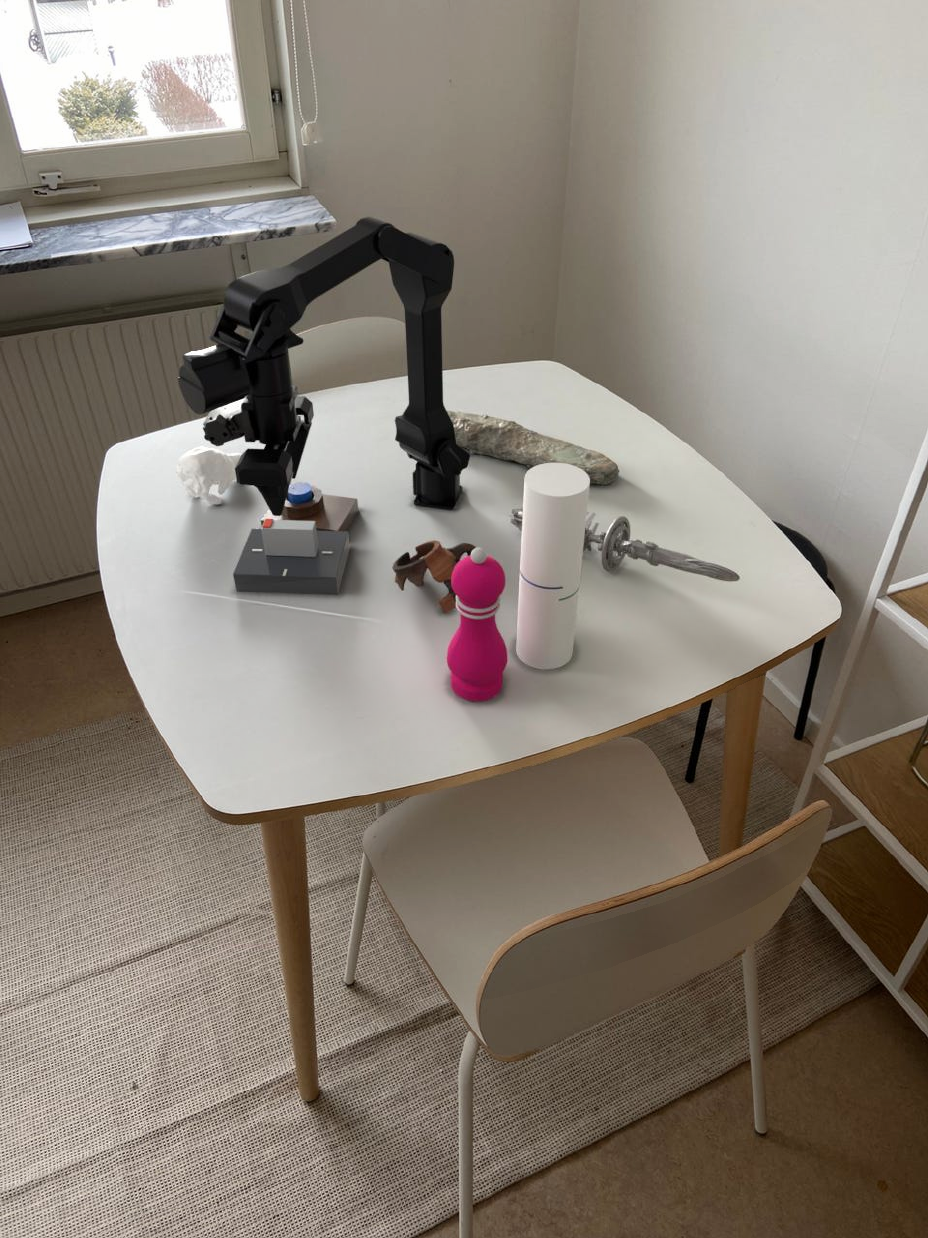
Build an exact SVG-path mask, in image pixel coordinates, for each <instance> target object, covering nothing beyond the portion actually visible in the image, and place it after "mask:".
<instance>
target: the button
mask: <svg viewBox="0 0 928 1238" xmlns="http://www.w3.org/2000/svg"><path fill="white" fill-rule="evenodd" d="M312 498H313V496H312V488H311V484H310V483H309V482H304V481H299V482H293V483H290V487H289V490H288V500H289V502H291V503H296V504H301V503H307V502H309V501H311V500H312Z"/></svg>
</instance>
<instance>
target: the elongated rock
mask: <svg viewBox="0 0 928 1238" xmlns="http://www.w3.org/2000/svg"><path fill="white" fill-rule="evenodd" d="M446 411H447V413H448V414H449V416H450V418H451V420H452V422H453V425H454V431H455V437H456V444H457V445H458V446H460V447H461V448H462V449H467V450H468V451H470V455H473V454H478V455H481V456H484V455H485V456H486V455H487V456H491V457H492V458H495V459H500V460H503V461H515V462H516V463H518V464H520V465H526V467H527V469H531V468H533V467H535V466H537V465H540V464H544V463H565V464H570V465H573V466H576V467H578V468H580V469H582V470H583V471H585V472H586V473H587V474H588V476H589V478H590V484H593V485H608V484H611V483H614V482H615V481H616V480H617V479H618V477H619V473H620V469H619V465H618V464H617V463H616V462H615V461H613V460H612V459H611V458H609V457H608V456H606V455H605V454H603V453H602V452H600V451H596V450H594V449H588V448H586V447H583V446H580V445H577V444H574V443H572V442H568V441H564V440H562V439H556V438H553V437H551V436H547V435H544V434H540V433H539V432H537V431H534V430H531V429H528V428H527V427H524V426H523V425H521V424H519V423H517V422H516V421H514V420H506V419H502V418H499V417H494V416H489V415H487V414H483V415H479V414H475V413H470V412H461V411H452V410H446Z"/></svg>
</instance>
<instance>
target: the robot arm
mask: <svg viewBox="0 0 928 1238" xmlns="http://www.w3.org/2000/svg"><path fill="white" fill-rule="evenodd" d="M454 256H455V255H454V253H453V250H452V249H450V248H449V247H448V246H447V245H446V244H444V243H442V242H440V241H436V240H433V239H431V238H428V237H425V236H421V235H419V234H417V233H413V232H403V231H402V230H400V229H398V228H396V227H395V225H394V224H392V223H390V222H388V221H385V220H381V219H379V218H376V217H373V216H366V217H362V218H360V219H358V221H357V222H356V223H355V225H353V226H352V227H350V228H348V229H347V230H344V231H343V232H341V233H339V234H338V235H336V236H335V237H333V238H331V239H330V240H328V241H326V242H324V243H323V244H321V245H319V246H317V247H316V248H314V249H313V250H311V251H309V252H307V253H305V254H304V255H302V256H300V257H299V258H298V259H296V260H294V261H292V262H291V263H289V264H287V265H284V266H280V267H276V268H275V267H274V268H268V269H267V268H266V269H261V270H257V271H253V272H251V273H248V274H246V275H242V276H240V277H237V278H235V279H234V280H233V281H231V282H230V283H228V285H227V287H226V289H225V291H226V292H225V296H224V299H223V305H222V307H221V309H220V312H219V314H218V317H217V319H216V322H215V324H214V327H213V329H212V331H211V334H210V336H209V339H210V341H211V342H213V343H214V344H216V345H214V346H210V347H208V348H204V349H201V350H197V351H190V352H187V353H184V354H182V361H183V364H182V365H181V366H180V368H179V370H178V377H177V383H178V387H179V390H180V393H181V395H182V397H183V399H184V401H185V403H186V405H187V406H188V407H189V409H191V411H193V412H194V413H195V414H196V415H204V414H206V413H208V415H207V416H206V418H205V419H204V421H203V423H202V426H203V427H202V431H203V432H204V436H203V438H204V440H206V441H207V442H209V443H210V444H211V445H213V446H215V447H221V446H223V445H225V444H226V443H229V442H233V441H235V440H238V439H241V438H243V437H244V441H245V443H256V442H258V443H259V444H262V445H264V447H263V448H246V449H245V450H244V452H242V454H241V457H240V459H239V461H238V463H237V465H236V467H235V473H236V479H237V481H236V483H237V484H239V485H240V486H253V487H254V488H256V489H257V490H258V491H259V493H260V494H261V496H262V498H263V500H264V502H265V503H266V505H267V507H268V510H269V509H270V511H271V512H272V514H273V515H274V516H281V515H282V512H283V508H284V505H285V501H286V498H287V494H288V490H289V487H290V485H291V484H292V479H293V480H294V479H296V478H297V475H298V471H299V467H300V464H301V460H302V458H303V455H304V451H305V447H306V445H307V442H308V437H309V434H310V431H311V428H312V425H313V422H312V421H313V419H314V416H315V413H314V405H313V404H314V403H313V402H312V401H311V400H310V399H309V398H307V396H305V395H304V396H303V395H302V396H301V395H298V394H299V393H298V385H293V377H292V368H291V361H290V354H289V353H290V352H289V349H292V348H296V347H298V346H300V345H303V344H304V338H303V337H301V336H299V335H298V334H296V333H294V331H293V330H292V328H293V327H294V326H296V324H298V323H299V321H301V320H302V317H303V316H304V313H305V311H306V309H307V307H308V306H309V305H311V303H312V302H314V301H315V300H317V299H318V298H320V297H322V296H323V295H324V294H326V293H328V292H330V291H331V290H333V289H334V288H336V287H337V286H339V285H341V284H342V283H344V282H346V281H347V280H350V279H351V278H352V277H354V276H355V275H357V274H359V273H360V272H362V271H364V270H366V269H367V268H368V267H370V266H372V265H374V264H375V263H377V262H378V261H380V260H382V261H385V262H386V263H388V266H389V271H390V277H391V282H392V285H393V288H394V290H395V291H396V294H397V295H398V297H399V299H400V301H401V303H402V305H403V308H404V309H403V310H404V325H405V327H404V328H405V346H406V347H405V348H406V367H407V388H408V389H407V391H408V404H407V407H406V408H405V410H404V411H403V412H402V414H401V415H397V416H395V419H394V423H395V429H396V433H395V437H394V441H396V442H398V445H399V447H400V449H401V450H403V451H404V452H405V453H406V455H407V457H408V458H409V459H411V460H414V461H416V463H415V467H414V469H413V471H412V494H413V496H415V497H414V499H413V506H417V507H426V508H434V509H442V510H449V511H451V510H452V511H453V510H455V508H456V507H457V503H458V501H459V499H460V497H461V494H462V492H463V490H464V489H463V486H462V485H461V474H462V471H463V470H465V469H467V468H468V466H469V463H470V458H471V453H469V452H468V451H467V450H465V448H462V447H460V446H458V445H457V444H456V437H455V431H454V425H453V422H452V420H451V418H450V416H449V414H448V413H447V411H448V410H447V409H446V407H445V404H444V380H443V378H444V377H443V376H444V375H443V373H444V372H443V331H442V329H443V328H442V324H443V323H442V307H443V305H444V303H445V301H446V300H447V297H448V296H449V295H450V293H451V291H452V288H453V279H454V271H455V257H454ZM238 328H240V329H242V330H244V331H246V332H247V333H250V334H251V336H250V338H247V337H246V336H243V335H242V334H240V333H237V332H236V330H237V329H238ZM302 416H303V420H302Z"/></svg>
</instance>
